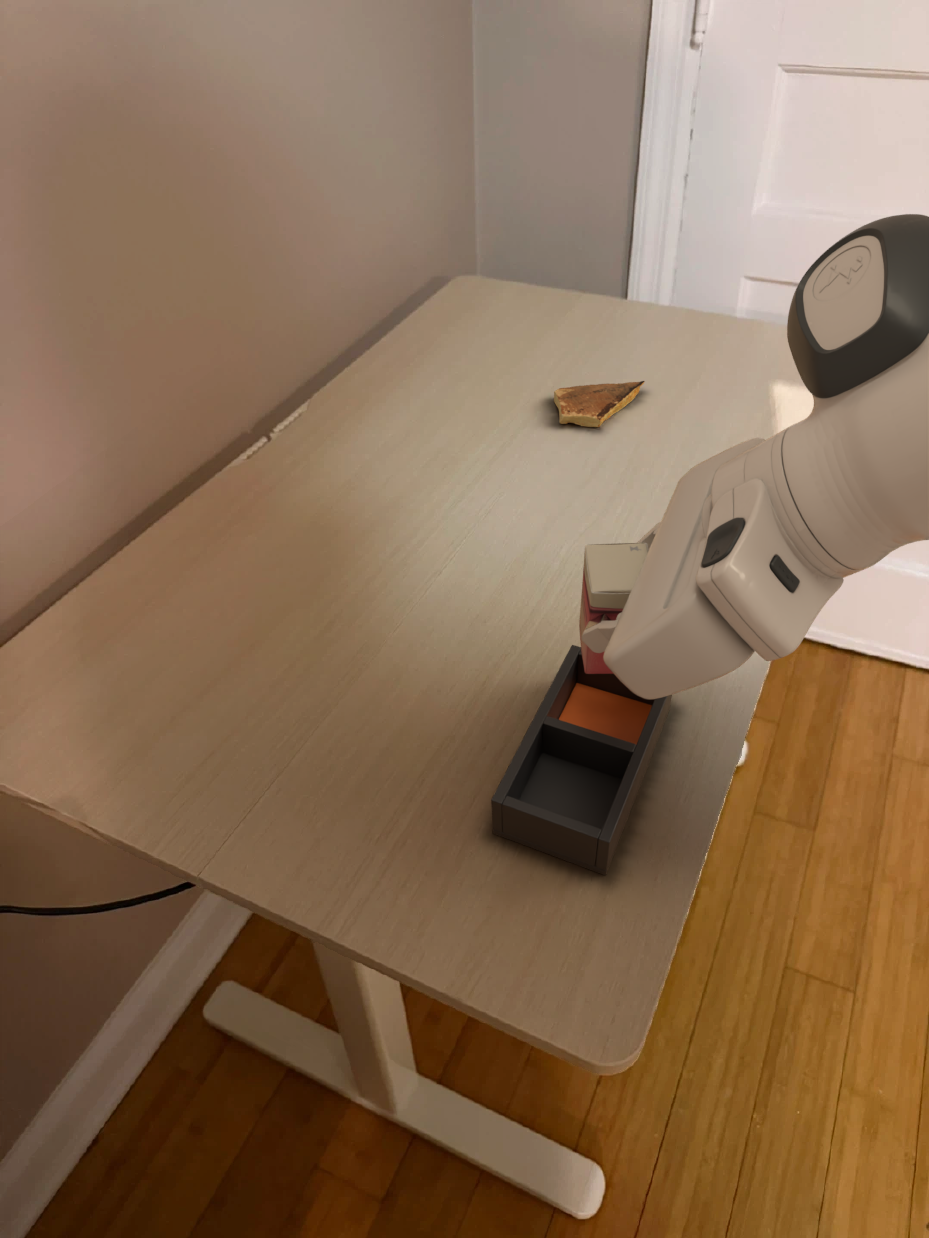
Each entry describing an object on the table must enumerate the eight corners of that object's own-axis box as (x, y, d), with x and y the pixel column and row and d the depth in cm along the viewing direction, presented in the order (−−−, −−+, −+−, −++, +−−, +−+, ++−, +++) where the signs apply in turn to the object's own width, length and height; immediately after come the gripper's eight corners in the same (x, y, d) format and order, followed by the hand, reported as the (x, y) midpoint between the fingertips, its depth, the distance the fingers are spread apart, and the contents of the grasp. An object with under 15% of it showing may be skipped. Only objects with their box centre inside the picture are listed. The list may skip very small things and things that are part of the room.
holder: (670, 709, 71) (676, 674, 68) (605, 875, 60) (609, 842, 57) (570, 678, 73) (571, 644, 70) (492, 833, 63) (490, 799, 60)
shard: (643, 392, 106) (645, 378, 105) (657, 426, 100) (659, 412, 99) (552, 398, 106) (553, 385, 104) (562, 433, 100) (562, 419, 99)
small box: (578, 625, 65) (582, 541, 60) (636, 624, 65) (647, 540, 60) (583, 676, 62) (589, 592, 56) (646, 675, 62) (658, 590, 56)
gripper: (781, 388, 57) (620, 485, 66) (712, 591, 43) (524, 674, 53) (837, 460, 58) (672, 544, 68) (788, 677, 45) (592, 742, 55)
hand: (606, 602), depth 61 cm, fingers closed on small box, 6 cm apart
